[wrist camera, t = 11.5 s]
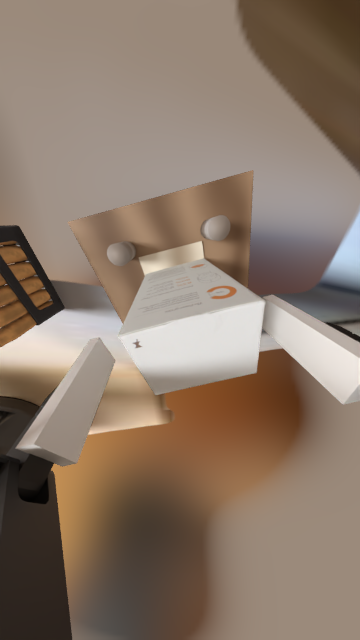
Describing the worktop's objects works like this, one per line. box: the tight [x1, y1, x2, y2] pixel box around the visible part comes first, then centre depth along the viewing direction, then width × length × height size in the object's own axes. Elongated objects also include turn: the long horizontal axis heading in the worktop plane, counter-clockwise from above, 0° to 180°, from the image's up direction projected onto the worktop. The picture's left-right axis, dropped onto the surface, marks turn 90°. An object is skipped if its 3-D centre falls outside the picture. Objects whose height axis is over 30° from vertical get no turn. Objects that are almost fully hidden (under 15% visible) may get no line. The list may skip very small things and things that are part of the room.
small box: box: [118, 258, 266, 395], centre depth 14 cm, size 8×6×13 cm
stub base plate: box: [68, 170, 253, 323], centre depth 19 cm, size 20×20×6 cm
